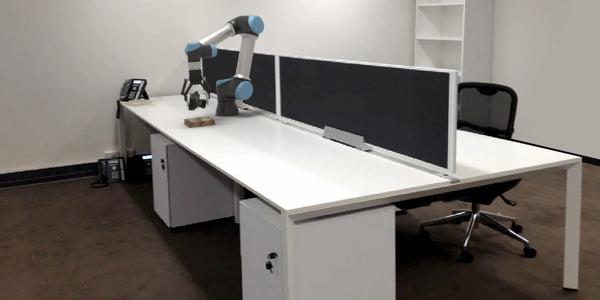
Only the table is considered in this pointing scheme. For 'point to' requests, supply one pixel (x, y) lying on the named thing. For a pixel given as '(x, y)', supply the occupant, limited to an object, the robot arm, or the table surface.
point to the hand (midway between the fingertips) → (197, 105)
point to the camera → (196, 102)
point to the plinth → (199, 122)
